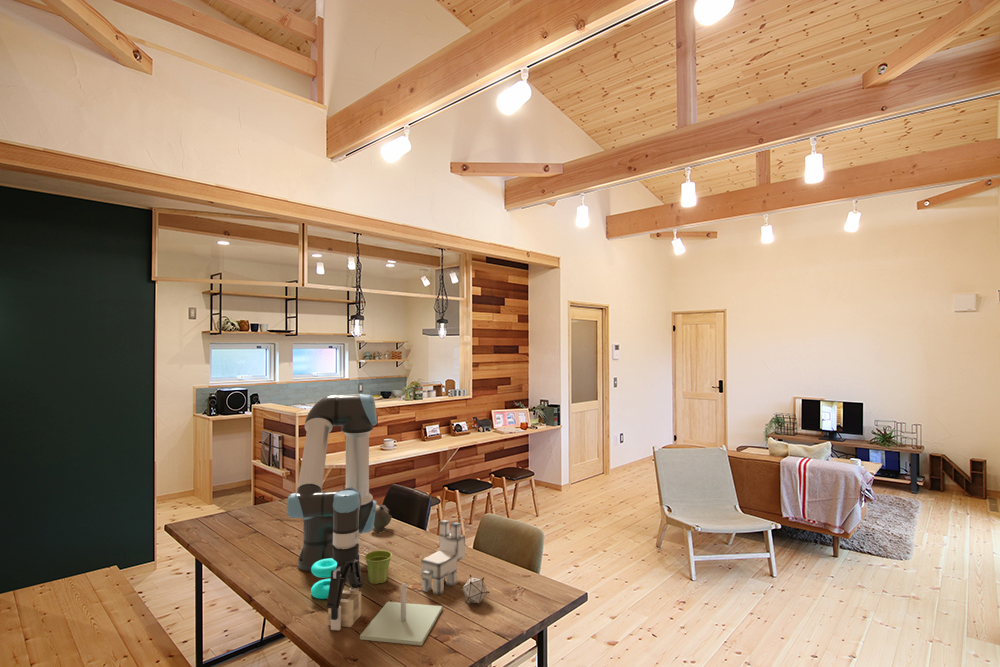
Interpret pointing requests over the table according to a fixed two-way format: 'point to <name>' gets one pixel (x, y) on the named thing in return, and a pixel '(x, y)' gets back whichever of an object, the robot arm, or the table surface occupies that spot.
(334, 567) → the donuts
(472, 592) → the game die
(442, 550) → the toy llama
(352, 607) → the bead
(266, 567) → the table surface
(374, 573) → the plant pot
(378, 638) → the stand
